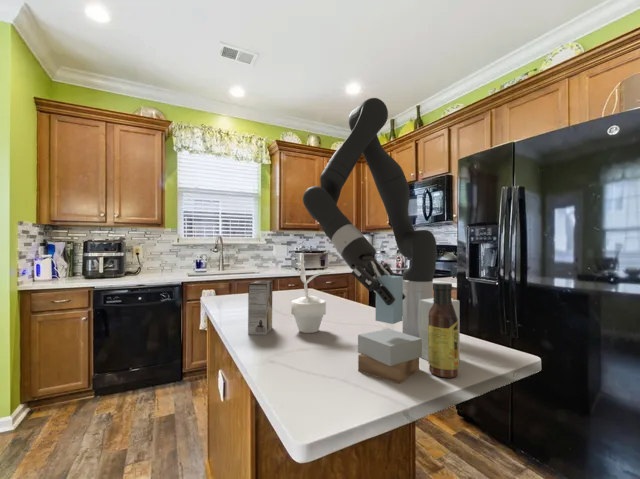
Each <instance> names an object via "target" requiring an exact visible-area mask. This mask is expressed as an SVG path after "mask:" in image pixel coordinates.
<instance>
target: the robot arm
mask: <svg viewBox="0 0 640 479" xmlns="http://www.w3.org/2000/svg"><path fill="white" fill-rule="evenodd" d="M388 118H389V111H388V108H387V106H386V103H385V102H384V101H383V100H381V99H380V98H378V97H371V98H367V99H366V100H364V101H363V102H361V103H360V104H359V105H357V106H356V107H355V108H353V110H352V111H351V112H350V113H349V116H348V126H349V129H350V134H348V136H347V137H346V139H345V140H344V141H343V142H342V144H341V145H340V146H339V147H338V148H337V150H336V151H335V152H334V153H333V155H331V158H329V161H328V162H327V164H326V166H325V167H324V169H323V170H322V172H321V174H320V177H319V182H320V186H318V185H314V186H310V187H308V188H307V189H306V190H305V191H304V192H303V197H302V201H303V202H302V203H303V205H304V207H305V209H306V210H307V212H308V214H309V215H310V217H311V218H312V219H313V220H315V221H317V222H318V224H319V225H320V227H321V229H322V230H323V232H324V234H325V236H326V237H327V238H328V239H329V240H330V242H331V243H332V245H333V246H334V248H335V250H336V251H337V252H338V254H339V255H340V256H341V258H342V259H343V260H344V262H345V263H346V264H347V265H348V267H349V268H350V269H351V270H352V271H351V275H352V276H353V277H354V278H355V279H356V280H357V281H358V282H359V283H360V284H361V285H362V286H363V287H364V288H365V289H366V290H367V291H368V292H372V291H373V292H374V293H375V294H376V293H378V294H379V295H380V297H381V298H382V299H383V301H384V302H385V303H386V304H387V305H391V304H392V303H393V302H394V301H395V298H394V297H393V295H392V294H391V293H390V292H389V290H388V289H387V288H386V287H385V286H384V284H383V282H382V281H381V280H380V277H381V276H383V275H388V276H389V275H390V276H396V275H395V273H394V271H393V270H392V268H391V267H390V265H389V264H388V263H384V264H382V263H381V262H380V261H378V260H377V259H376V253H377V252H376V249H375V248H374V246H373V245H372V244H371V243H370V241H369V240H368V239H367V238H366V237H365V235H364V234H363V233H362V232H361V231H360V230H359V229H358V228H357V227H356V226H355V225H354V224H353V223H352V222H351V221H350V220H349V219H348V217H347V216H346V215H345V214H344V213H343V211H341V210H340V207H338V205H337V204H338V202H339V198H340V197H341V196H340V195H341V192H342V189H343V187H344V186H345V183H346V182H347V181H348V179H349V177H350V175H351V173H352V171H354V170H353V169H354V168H355V166H356V165H357V163H358V161H359V160H360V158H361V156H363V157H364V159H365V161H366V164H367V166H368V169H369V171H370V174H371V175H372V178H373V181H374V184H375V187H376V189H377V192H378V194H379V196H380V199H381V202H382V204H383V206H384V209H385V212H386V214H387V217H388V219H389V222H390V226H391V230H392V232H393V235H394V239H395V243H396V245H397V248H398V251H399V253H400V254H401V255H402V256H403V257H404V258H406V259H411V264H410V266H409V267H408V268H407V269H404V270H403V271H402V276H403V299H402V300H403V310H402V333H405V334H408V335H411V336H415V337H418V338H420V310H419V300H423V299H431V298H434V291H433V283H434V275H435V271H436V265H437V264H436V263H437V240H436V238H435V235H434V234H433V232H432V231H430V230H427V229H417V230H415V228H414V227H413V224H412V222H411V218H410V214H409V205H410V203H409V202H410V195H411V194H410V186H409V183H408V180H407V178H406V175H405V172H404V170H403V168H402V167H401V166H400V164H399V162H397V161H396V160H395V159H394V158H393V157H392V156H391V155H390V154H389V153H388V152H387V151H386V150H385V149H384V147H383V146H382V144H381V141H380V139H379V136H378V133H379V132H380V131H381V130H382V129H383V127H384V126H385V125H386V123H387V121H388ZM362 154H363V155H362ZM383 286H384V287H383Z"/></svg>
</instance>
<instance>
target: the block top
mask: <svg viewBox="0 0 640 479" xmlns="http://www.w3.org/2000/svg"><path fill="white" fill-rule="evenodd" d="M357 353H359V354H363V355H365V356H368V357H370V358H372V359H375V360H377V361H379V362H382V363H384V364H386V365H389V366H393V365H396V364H399V363H403V362H406V361H409V360H413V359H416V358H419V359H420V358H422V339H421V338H418V337H415V336H411V335H408V334H405V333H403V332H401V331H397V330H394V329H391V328H385V329H381V330H379V329H378V330H376V331H375V330H374V331H370V332H366V333H365V332H364V333H361V334H360V333H359V334H357Z"/></svg>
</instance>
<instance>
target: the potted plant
mask: <svg viewBox="0 0 640 479" xmlns="http://www.w3.org/2000/svg"><path fill="white" fill-rule="evenodd" d="M305 263H306V261H305V260H304V259H303V257H301V258H300V260H299V261H298V262H296V263H295V264H296V265H298V266H299V267H300V268H297V269H296V271H297V274H298V273H299V272H300V280H301V282H302V283H303V288H304V295H305V296H301V297H299V298H297V299H293V300H291V304H290V305H291V306H290V307H291V312H290V313H291V315H293V316H294V319H295V324H296V326H297V330H298V331H299V332H301V333H304V334H313V333H317V332H318V331H319V329H320V327H321V323H322V321H323V317H324V316H325V315H326V314H327V312H326V311H327V310H326V309H327V302H326V300H325V299H320V298H319V297H318V296H316V295H309V289H308V284H309V283H310V282H311V281H312V280H313V279H315V278H316V277H317V276H321V275H324V274H325V275H326V274H329V273H331V272H330V271H324V272H319V273H316V274H313V275H312V276H310V277H308V279H307V278H306V277H307V276H306V269H305V266H304V264H305Z"/></svg>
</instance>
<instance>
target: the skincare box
mask: <svg viewBox="0 0 640 479" xmlns="http://www.w3.org/2000/svg"><path fill="white" fill-rule="evenodd" d="M433 300H434V297H433V298H431V299H423V300H419V310H420V338H421V339H422V357H421V358H422V359H424V360H426V361H428V362H429V355H428V324H429V316H428V315H429V311H430V309H431V307H432V306H433V304H434V301H433ZM451 300H452V304H453V307H454V310H455V313H456V316H457V318H458V351H459V359H460V358H461V356H460V354H461V353H460V352H461V351H460V350H461V349H460V345H461V344H460V343H461V342H460V341H461V340H460V339H461V338H460V336H461V335H460V332H461V331H460V330H461V329H460V326H461V323H460V320H461V319H460V315H461V314H460V307H461V306H460V304H461V303H460V300H459V299H453V298H451Z"/></svg>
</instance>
